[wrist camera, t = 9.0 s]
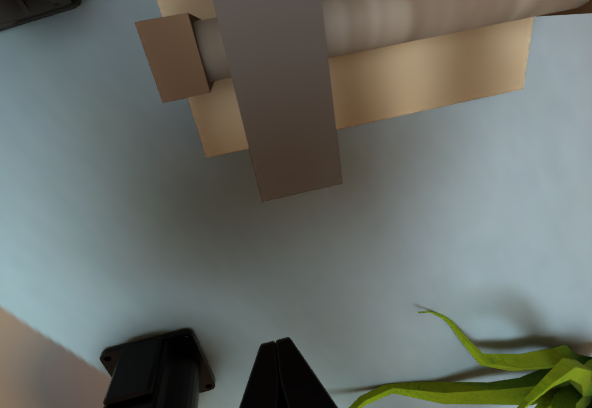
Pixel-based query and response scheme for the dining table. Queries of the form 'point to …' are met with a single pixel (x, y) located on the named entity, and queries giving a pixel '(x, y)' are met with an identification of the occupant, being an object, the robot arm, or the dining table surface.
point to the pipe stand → (357, 57)
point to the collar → (282, 92)
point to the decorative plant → (520, 391)
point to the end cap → (31, 10)
